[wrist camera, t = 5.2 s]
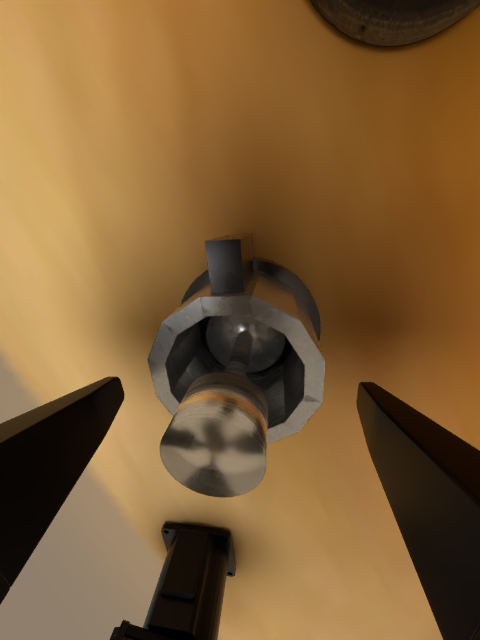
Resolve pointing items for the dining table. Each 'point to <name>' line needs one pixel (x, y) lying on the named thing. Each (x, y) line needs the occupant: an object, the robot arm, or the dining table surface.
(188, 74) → the dining table surface
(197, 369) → the octagonal collar cylinder
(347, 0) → the container
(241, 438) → the plunger
